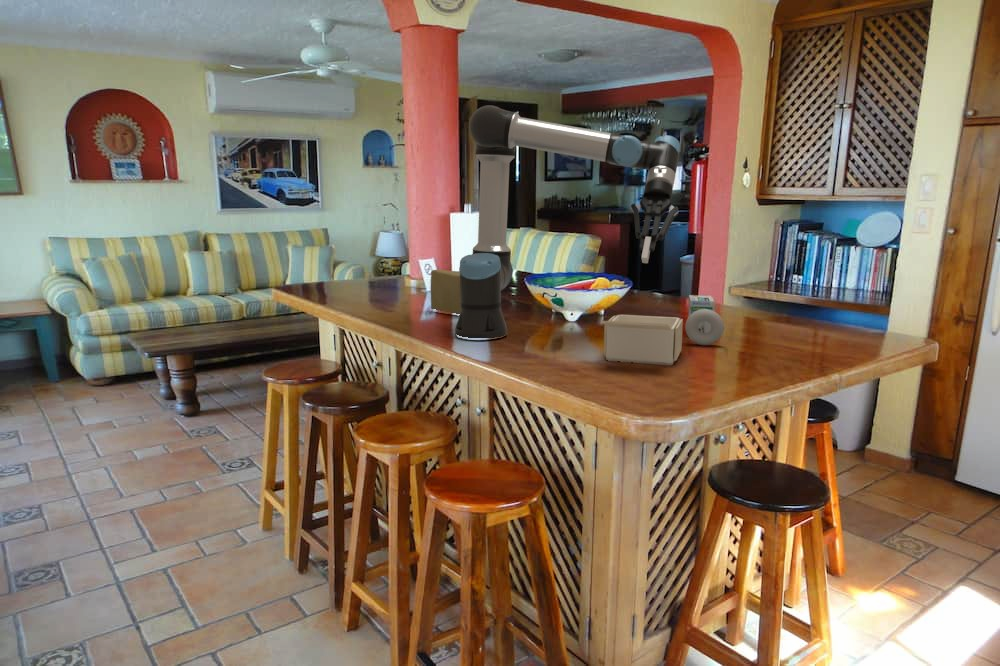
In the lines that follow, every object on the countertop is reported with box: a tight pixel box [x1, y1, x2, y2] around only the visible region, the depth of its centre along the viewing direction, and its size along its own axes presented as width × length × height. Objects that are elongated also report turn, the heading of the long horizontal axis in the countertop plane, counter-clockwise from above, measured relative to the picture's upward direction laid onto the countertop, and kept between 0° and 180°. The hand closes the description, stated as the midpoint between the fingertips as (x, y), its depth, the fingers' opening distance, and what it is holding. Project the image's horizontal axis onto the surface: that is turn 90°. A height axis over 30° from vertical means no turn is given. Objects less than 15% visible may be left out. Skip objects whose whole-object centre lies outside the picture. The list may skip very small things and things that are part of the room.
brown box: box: [430, 269, 461, 314], centre depth 233 cm, size 22×10×15 cm, turn 55°
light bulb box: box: [687, 294, 716, 333], centre depth 198 cm, size 11×7×11 cm, turn 168°
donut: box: [685, 309, 725, 347], centre depth 184 cm, size 10×4×10 cm, turn 71°
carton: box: [603, 314, 684, 366], centre depth 174 cm, size 18×15×9 cm
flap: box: [601, 320, 671, 330], centre depth 162 cm, size 15×1×8 cm
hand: (644, 260), depth 181 cm, fingers closed
